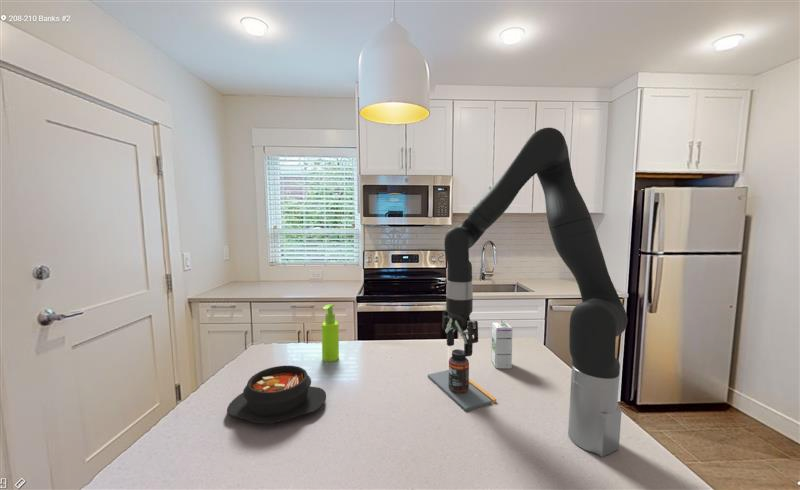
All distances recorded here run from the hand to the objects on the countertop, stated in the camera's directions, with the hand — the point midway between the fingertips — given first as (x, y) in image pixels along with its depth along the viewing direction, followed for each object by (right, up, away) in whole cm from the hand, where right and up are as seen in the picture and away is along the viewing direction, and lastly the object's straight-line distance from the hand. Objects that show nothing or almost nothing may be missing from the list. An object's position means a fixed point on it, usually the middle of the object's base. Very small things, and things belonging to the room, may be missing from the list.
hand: (458, 350), depth 92 cm
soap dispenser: (-43, -11, +22) cm, 49 cm away
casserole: (-50, -13, -7) cm, 52 cm away
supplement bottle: (0, -12, +1) cm, 12 cm away
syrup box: (+18, -12, +19) cm, 29 cm away
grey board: (+1, -13, +3) cm, 13 cm away
